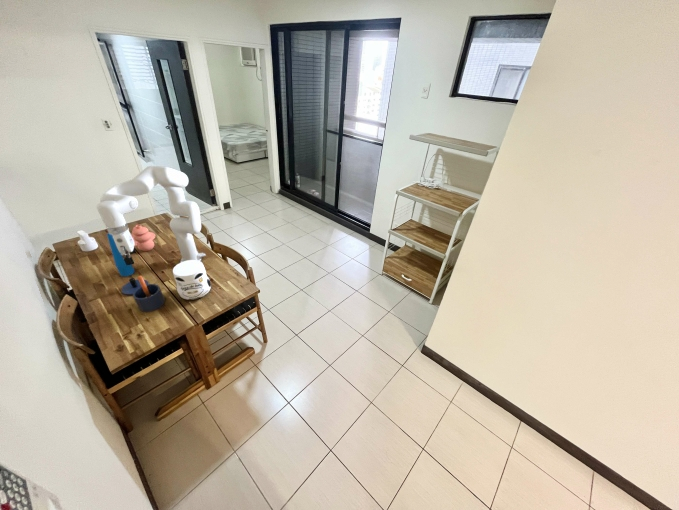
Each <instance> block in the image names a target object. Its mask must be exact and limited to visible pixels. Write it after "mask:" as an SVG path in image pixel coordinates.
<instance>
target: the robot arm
mask: <svg viewBox="0 0 679 510" xmlns="http://www.w3.org/2000/svg"><path fill="white" fill-rule="evenodd" d="M189 182H190V181H189V177H188V175H187V174H186V173H185V172H182V171H180V170H178V169H175V168H172V167H169V166H162V165H149V166H146V167H145V168H143V170H141V171H140V172H139V173H138V174H137V175H136V176H135V177H134V178H132V179H130V180H127V181H123V182H121V183H118V184H115V185H113V186H111V187H110V188H108V189H107V190H106V191H105V192H104V193H102V196H100V200H99V202H98V203H97V204H96V209H97V211H98V215H99V216H100V218H101V219H102V223H103V224H104V226H105V228H106V229H107V230H108V233H109V234H111V235H112V236H113V239H114V241H115V244H116V246H117V248H118V250H119V252H120V253H121V255H122V257H123V259H124V261H125V263H126V265H132V266H133V265H134V264H135V261H134V259H133V257H132V256H131V255H135V254H137V250H136V248H135V246H134V244H135V243H134V240H133V238H132V236H131V232H130V230H129V229H130V228H129V225H128V224H127V221H126V219H125V217H124V215H127V214H130V213H133V212H134V211H136V210H137V209H138V207H139V201H138V199H137V198H136V197H137V196H143V195H147V194H149V193H150V192H151V191H152V190H153V189H154V188H155V187H156V186H157V185H158V184H159V186H161V187H162V188H163V189H164V190H165V191H166V193H167V199H168V204H169V210H170V212H171V214H172V215H173V216H176V217H173V218H172V219H170V221H169V228H170V230H171V232H172V234H173V236H174V238H175V241H176V243H177V246H178V249H179V252H180V255H181V258H180V263H181V262H184V261H187V260H198V261H200V262H202V258H205V257H207V255H206V253H204V252H199V251H198V250H197V246H196V243H195V240H194V236H193V235H197V234H200V232H201V231H202V218H201V209H200V207H199V205H198V203H197V202H195V201H193V200H187V199H186V196H185V191H184V190H183V188H186V187H187V186H188V185H189Z"/></svg>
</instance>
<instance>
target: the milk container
mask: <svg viewBox="0 0 679 510" xmlns="http://www.w3.org/2000/svg"><path fill="white" fill-rule="evenodd" d="M172 274H173V278H174V280H175V283H176V291H177V294H178V296H179V297H181V298H182V299H184V300H187V301H189V300H190V301H193V300H198V299H201V298H203V297H205V296H206V295H208V293H209V292H210V291H211V288H212V283H211V280H210V277H208V275H207V271H206V268H205V266H204V263H203V262H202V261H198V260H187V261H184V262H181V261H180V262H179V263H177V264H176V265H175V266H174V267H173V269H172Z"/></svg>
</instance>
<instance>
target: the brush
mask: <svg viewBox="0 0 679 510" xmlns="http://www.w3.org/2000/svg"><path fill="white" fill-rule="evenodd" d="M137 280H139V282H140V284H141V286H142V288H143V291H144V293H145V295H146V297H145V298H147V297H150V296H152V295H150V293H149V290H148V288H147V286H146V284H145V282H144V280H145V279H144V277H143V275H138V276H137Z"/></svg>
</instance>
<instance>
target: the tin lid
mask: <svg viewBox="0 0 679 510" xmlns="http://www.w3.org/2000/svg"><path fill="white" fill-rule="evenodd" d="M128 281H129V282H127V283H125V284H124V285H123V286H122V288H121V293H122V294H124V295H127V296H133V293H134V292H135V290H137V289H138V288H140V287H142V286H141V284H140V282H139V280H138V279H135V277H134V278H133V277H131V278H130V279H129V280H128ZM144 282H145V284H146V285H148V284H149V281H147V280H146V279H144Z"/></svg>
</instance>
